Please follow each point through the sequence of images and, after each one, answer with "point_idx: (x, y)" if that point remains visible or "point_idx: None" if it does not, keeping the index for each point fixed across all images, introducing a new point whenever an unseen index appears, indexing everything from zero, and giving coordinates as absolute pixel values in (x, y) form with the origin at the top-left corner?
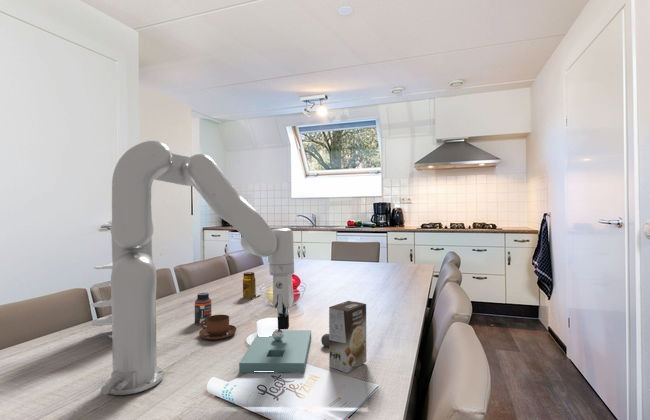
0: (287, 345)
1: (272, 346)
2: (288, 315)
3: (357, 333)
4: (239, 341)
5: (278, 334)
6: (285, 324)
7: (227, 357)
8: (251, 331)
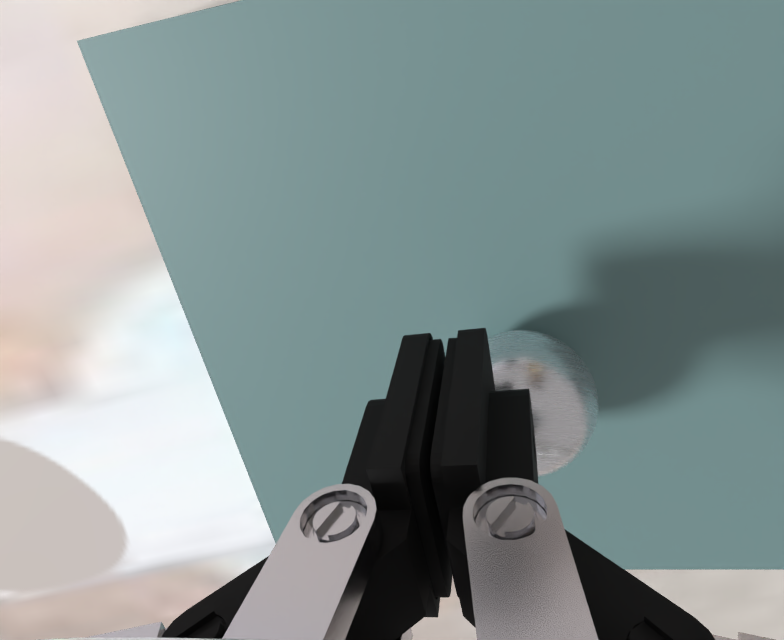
0: (682, 217)
1: (713, 379)
2: (402, 462)
3: None
4: None
5: (591, 402)
6: (506, 402)
7: (729, 627)
8: (204, 590)
